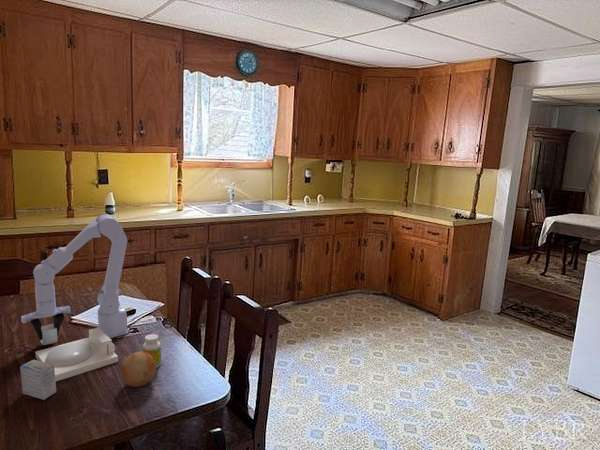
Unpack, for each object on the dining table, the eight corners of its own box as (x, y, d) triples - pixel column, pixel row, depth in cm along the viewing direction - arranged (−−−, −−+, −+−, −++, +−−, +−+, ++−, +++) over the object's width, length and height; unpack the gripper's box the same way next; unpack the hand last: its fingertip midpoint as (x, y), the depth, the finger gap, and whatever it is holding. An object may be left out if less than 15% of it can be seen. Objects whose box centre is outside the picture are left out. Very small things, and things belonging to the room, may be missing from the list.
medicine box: (57, 392, 123) (55, 364, 122) (43, 401, 119) (41, 372, 118) (36, 386, 126) (33, 358, 124) (21, 394, 122) (19, 366, 120)
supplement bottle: (155, 370, 137) (154, 341, 136) (139, 367, 138) (139, 339, 137) (163, 361, 143) (163, 334, 141) (149, 359, 144) (148, 332, 142)
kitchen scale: (97, 340, 155) (96, 323, 154) (119, 361, 142) (118, 343, 140) (35, 357, 141) (34, 339, 140) (53, 382, 128) (52, 362, 127)
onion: (136, 397, 123) (135, 365, 121) (114, 385, 128) (112, 354, 126) (163, 382, 131) (162, 351, 129) (141, 371, 136) (140, 342, 134)
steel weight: (53, 337, 153) (52, 323, 152) (57, 341, 149) (56, 328, 148) (39, 340, 149) (38, 327, 148) (43, 345, 146) (42, 331, 145)
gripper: (65, 291, 154) (67, 327, 157) (17, 300, 144) (20, 338, 147) (71, 297, 149) (74, 333, 152) (23, 307, 139) (26, 346, 142)
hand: (48, 336), depth 149 cm, fingers closed on steel weight, 4 cm apart
